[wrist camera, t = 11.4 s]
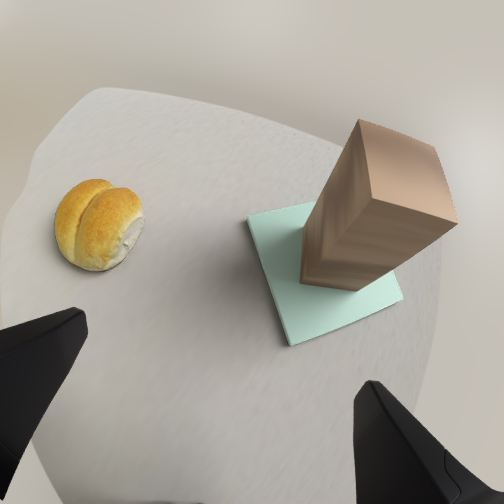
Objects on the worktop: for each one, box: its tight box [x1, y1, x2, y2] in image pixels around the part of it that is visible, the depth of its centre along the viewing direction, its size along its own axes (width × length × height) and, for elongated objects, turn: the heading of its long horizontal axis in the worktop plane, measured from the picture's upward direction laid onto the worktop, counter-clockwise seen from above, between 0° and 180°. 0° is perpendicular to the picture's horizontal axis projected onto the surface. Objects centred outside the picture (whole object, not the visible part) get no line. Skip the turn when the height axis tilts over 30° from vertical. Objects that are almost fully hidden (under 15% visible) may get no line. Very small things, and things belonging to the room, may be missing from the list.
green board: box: [247, 201, 404, 346], centre depth 22 cm, size 11×11×1 cm
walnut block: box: [299, 119, 458, 291], centre depth 16 cm, size 5×5×12 cm
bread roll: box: [54, 179, 144, 271], centre depth 20 cm, size 8×9×4 cm
